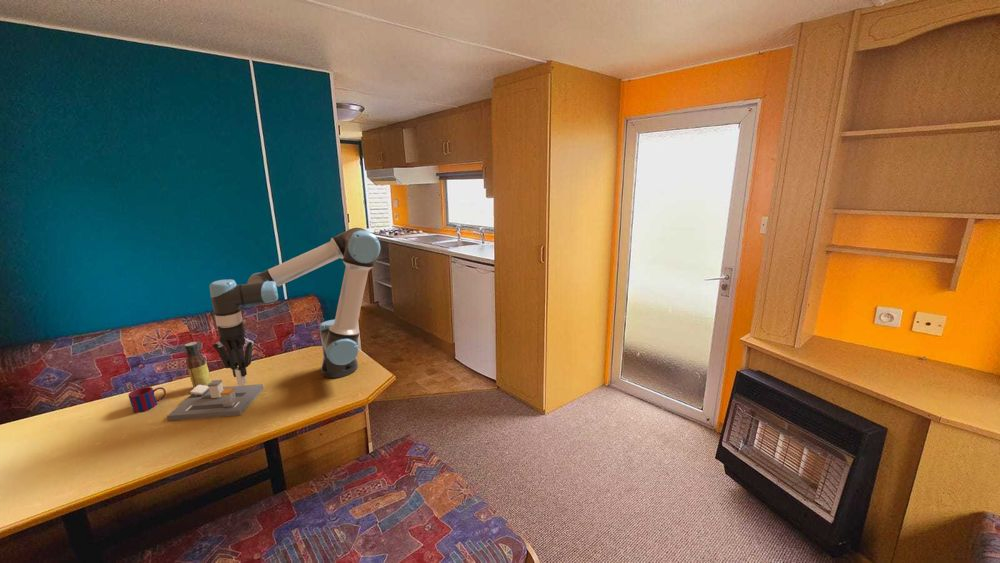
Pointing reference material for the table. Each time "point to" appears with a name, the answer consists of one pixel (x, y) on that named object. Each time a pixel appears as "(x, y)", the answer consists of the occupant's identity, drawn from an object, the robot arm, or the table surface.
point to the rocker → (199, 390)
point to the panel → (215, 404)
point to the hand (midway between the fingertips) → (242, 384)
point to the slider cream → (215, 388)
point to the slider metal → (228, 397)
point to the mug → (144, 399)
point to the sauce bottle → (197, 365)
